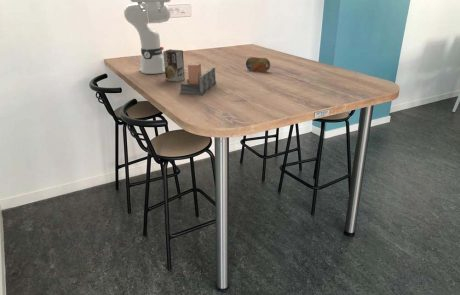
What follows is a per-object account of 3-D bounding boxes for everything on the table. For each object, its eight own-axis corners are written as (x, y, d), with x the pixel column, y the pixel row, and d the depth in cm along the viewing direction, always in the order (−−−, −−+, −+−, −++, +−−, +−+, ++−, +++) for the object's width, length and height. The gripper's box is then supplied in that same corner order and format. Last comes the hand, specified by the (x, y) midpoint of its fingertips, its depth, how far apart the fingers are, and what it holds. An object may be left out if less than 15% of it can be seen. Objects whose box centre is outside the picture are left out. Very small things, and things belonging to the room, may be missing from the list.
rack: (195, 82, 203) (194, 66, 199) (216, 83, 200) (215, 67, 196) (180, 93, 185) (178, 75, 181) (203, 95, 182) (202, 76, 178)
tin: (245, 70, 227) (245, 56, 223) (247, 69, 229) (247, 55, 225) (268, 73, 220) (269, 58, 217) (270, 72, 223) (271, 57, 219)
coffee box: (185, 79, 209) (183, 50, 202) (178, 82, 204) (176, 52, 197) (172, 77, 213) (170, 48, 207) (165, 80, 208) (162, 50, 202)
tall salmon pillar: (192, 86, 190) (191, 63, 185) (201, 87, 189) (200, 63, 184) (189, 88, 186) (187, 65, 181) (198, 89, 185) (197, 65, 180)
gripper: (171, -20, 175) (174, 11, 181) (132, -19, 180) (136, 11, 186) (166, -19, 169) (168, 13, 175) (126, -19, 175) (129, 12, 181)
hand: (151, 12), depth 181 cm, fingers open, 8 cm apart
